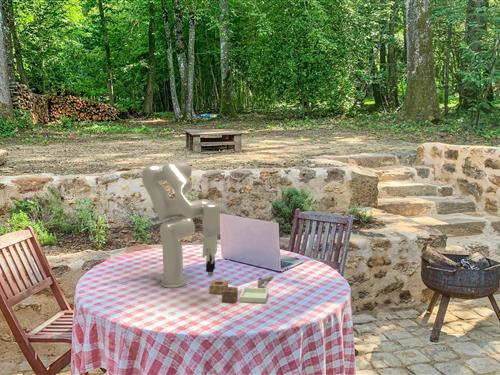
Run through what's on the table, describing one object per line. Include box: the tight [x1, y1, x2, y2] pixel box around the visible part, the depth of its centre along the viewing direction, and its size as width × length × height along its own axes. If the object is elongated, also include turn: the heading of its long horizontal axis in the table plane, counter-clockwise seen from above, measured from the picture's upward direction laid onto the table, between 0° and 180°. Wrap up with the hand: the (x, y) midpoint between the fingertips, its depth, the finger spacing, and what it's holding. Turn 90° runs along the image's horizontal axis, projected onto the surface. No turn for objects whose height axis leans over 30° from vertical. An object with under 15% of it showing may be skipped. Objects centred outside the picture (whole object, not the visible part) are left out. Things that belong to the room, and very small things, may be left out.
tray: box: [239, 286, 269, 305], centre depth 225 cm, size 12×12×2 cm
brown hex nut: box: [208, 279, 229, 295], centre depth 233 cm, size 7×7×4 cm
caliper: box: [257, 275, 274, 288], centre depth 243 cm, size 20×1×6 cm, turn 159°
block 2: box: [221, 286, 239, 304], centre depth 222 cm, size 6×6×5 cm
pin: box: [207, 271, 214, 277], centre depth 221 cm, size 2×2×8 cm
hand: (210, 270), depth 221 cm, fingers closed on pin, 2 cm apart
